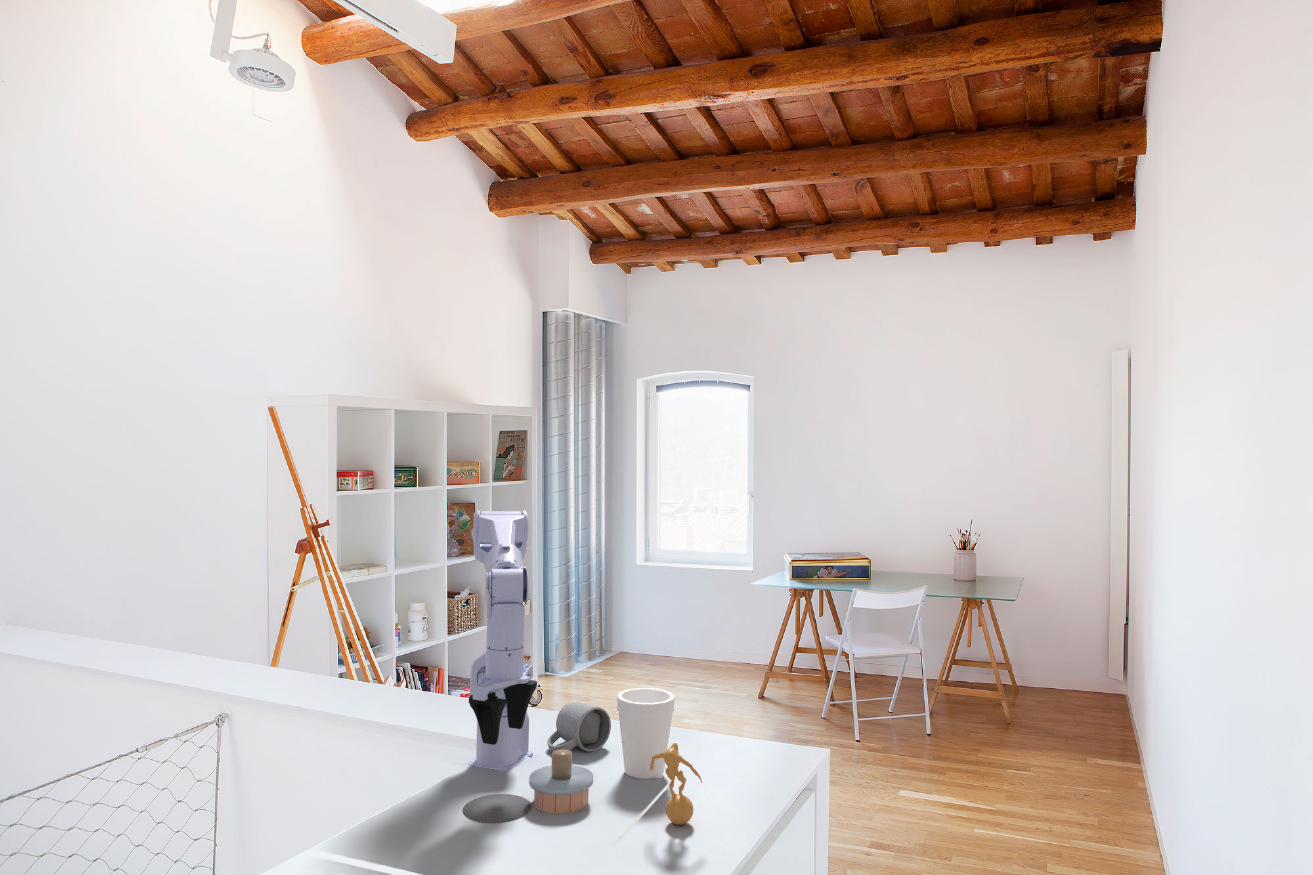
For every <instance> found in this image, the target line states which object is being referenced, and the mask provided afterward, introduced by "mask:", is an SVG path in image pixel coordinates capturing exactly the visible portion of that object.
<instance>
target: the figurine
mask: <svg viewBox="0 0 1313 875" xmlns="http://www.w3.org/2000/svg"><path fill="white" fill-rule="evenodd" d="M659 758H664V761H665V766H666V767H665V769H664V773H665V774H666V776H667V778H668V779H669V780H670V782H669V784H668V787H669V791H670V794H671V797H670V798H669V799H668V800H667V802H666V805H665V813H666V817H667V819H668V820H669V822H671V823H672V824H674V825H677V826H682V825H685V824H687V823H689V821H690V820H691V819H692V817H693V814H694V804H693V802H692V800H691V799H690V798H689V797H688V796H686V795H684V794H683V791H684V788H685V786H686V782H687V778H686V776H684V772H683V770H682V769H681V770H679V766H680V763H681V764H683V765H685V766H686V767H688V768H689V769H690V771H691V772H692V773H693V774H694V775H695V776H697V778H698V779H699V780H700V783H701V784H702V783H703V781H702V777H701V775H700V774H699V773H698V770H696V769H695V768H694V766H693V765H692V764H691V763H690V762H689V761H688V760H687V759H685V758H683V756H682V755H681V754H680V753H679V744H678V743H677V742H674V743H672V744H671V745H670V747H669V748H667V751H665V752H662V753H660V754H656V755H654V756H653V757H652V761H651V765H650V771H651V770H652V768H653V767H655V766H653V765H654V761H655V759H659ZM653 770H654V768H653ZM675 779H677V780H678V781H680V782H681V784H680V785H679V786H678V794H677V793H676V792H675V790H674V787H675V781H676V780H675Z"/></svg>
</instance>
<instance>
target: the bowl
mask: <svg viewBox="0 0 1313 875" xmlns="http://www.w3.org/2000/svg"><path fill="white" fill-rule="evenodd" d="M533 790H534V789H533ZM589 795H590V794H589V788H588V789H586V790H584V791H582V792H578V793H574V794H567V795H551V794H544V793H541V792H538V791H535V790H534V793H533V796H534V797H533V801H534V802H533V803H534V804H533V805H534V807H535V808H536V809H538V810H539V811H542V812H543V813H547V814H548V813H549V814H557V815H559V814H571V813H574V812H577V811H578V812H579V811H580V810H581V811H582V810H583V809H584V808H585V807H586V806H587V805H588V804H589Z"/></svg>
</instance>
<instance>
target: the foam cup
mask: <svg viewBox="0 0 1313 875" xmlns="http://www.w3.org/2000/svg"><path fill="white" fill-rule="evenodd" d="M616 702H617V703H616V705H617V706H616V710H617V712H618V720H619V728H620V737H621V738H620V739H621V745H622V747H621V749H622V756H623V757H622V758H623V766H624V773H625V774H626V775H627V776H629V777H632V778H636V779H642V780H643V779H644V780H645V779H647V780H649V779H656V778H657V779H663V777H664V775H665V774H664V773H665V770H666V763H665V761H664V758H659V759H655V761H654V765H653V766H655V767H653V768H654V770H653V768H652V770H651V771H650V765H651V761H652V757H653V756H654V755H656V754H660V753H662V752H665V751H667V750H668V749H669V748H668V747H669V741H670V740H669V738H670V734H671V733H670V732H671V725H672V718H673V713H674V711H675V695H674V693H672V692H670V691H668V690H664V689H661V688H654V687H653V688H652V687H638V688H630V689H629V688H628V689H625V690H623V691H620V692H618V694H617V698H616Z"/></svg>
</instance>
